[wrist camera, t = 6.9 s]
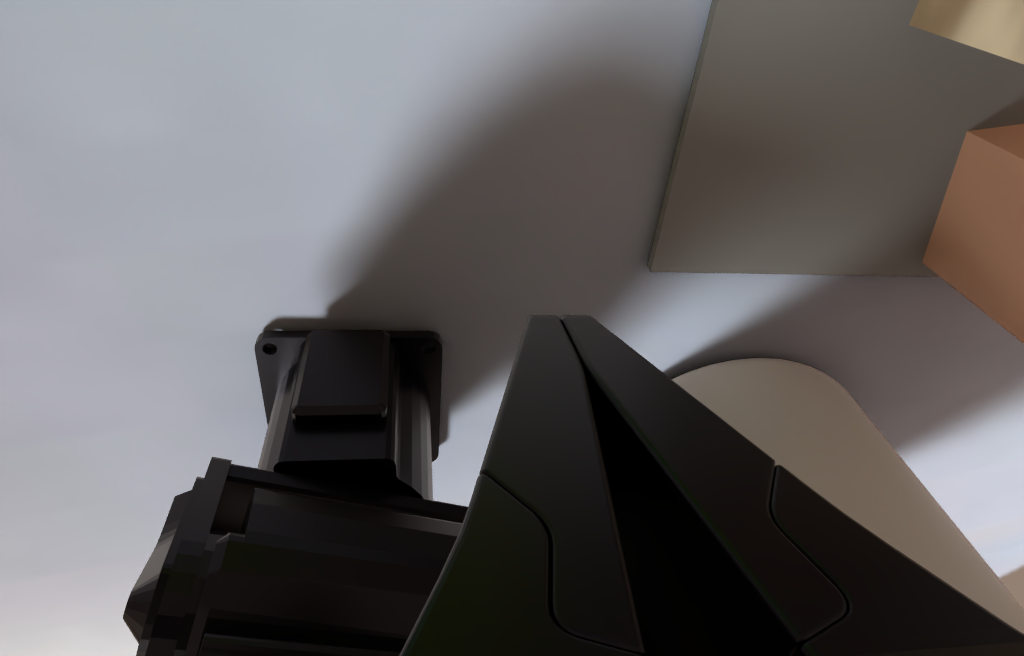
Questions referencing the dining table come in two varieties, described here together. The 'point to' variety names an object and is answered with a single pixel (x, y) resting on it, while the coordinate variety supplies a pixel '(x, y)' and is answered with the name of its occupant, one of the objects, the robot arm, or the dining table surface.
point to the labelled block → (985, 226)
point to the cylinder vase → (846, 465)
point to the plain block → (976, 24)
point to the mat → (823, 139)
